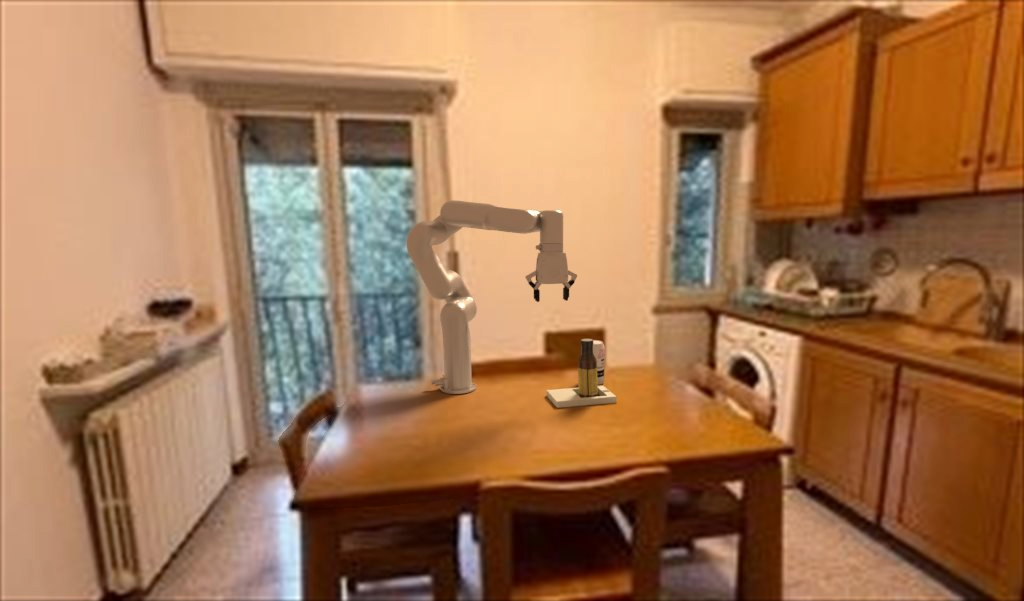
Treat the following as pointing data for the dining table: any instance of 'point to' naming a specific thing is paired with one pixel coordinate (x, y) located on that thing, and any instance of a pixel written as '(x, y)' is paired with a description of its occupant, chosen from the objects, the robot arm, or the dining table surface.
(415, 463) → the dining table surface
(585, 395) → the sauce bottle
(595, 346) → the supplement can
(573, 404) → the board
